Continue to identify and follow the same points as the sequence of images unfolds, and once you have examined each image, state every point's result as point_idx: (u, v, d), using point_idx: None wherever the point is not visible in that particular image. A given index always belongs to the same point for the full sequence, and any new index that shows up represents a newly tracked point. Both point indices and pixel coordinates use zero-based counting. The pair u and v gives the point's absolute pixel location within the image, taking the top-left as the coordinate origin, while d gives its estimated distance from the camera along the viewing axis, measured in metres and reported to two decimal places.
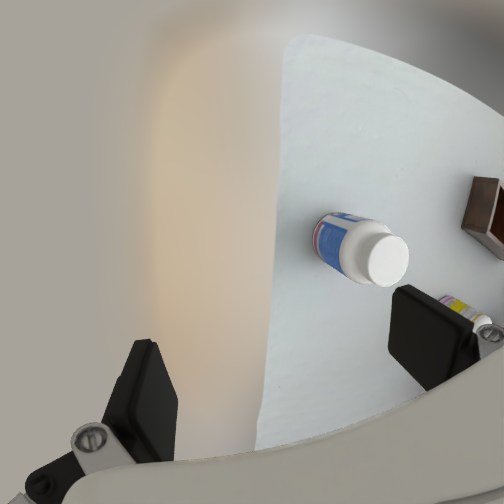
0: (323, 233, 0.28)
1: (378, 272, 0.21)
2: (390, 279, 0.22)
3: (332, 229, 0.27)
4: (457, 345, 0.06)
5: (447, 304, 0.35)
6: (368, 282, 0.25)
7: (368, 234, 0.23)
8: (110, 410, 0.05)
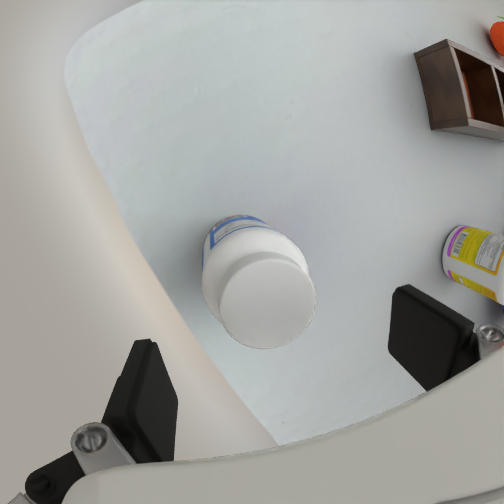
0: None
1: (256, 333, 0.13)
2: (290, 329, 0.13)
3: None
4: (457, 345, 0.06)
5: (458, 242, 0.24)
6: None
7: (226, 268, 0.14)
8: (110, 410, 0.05)
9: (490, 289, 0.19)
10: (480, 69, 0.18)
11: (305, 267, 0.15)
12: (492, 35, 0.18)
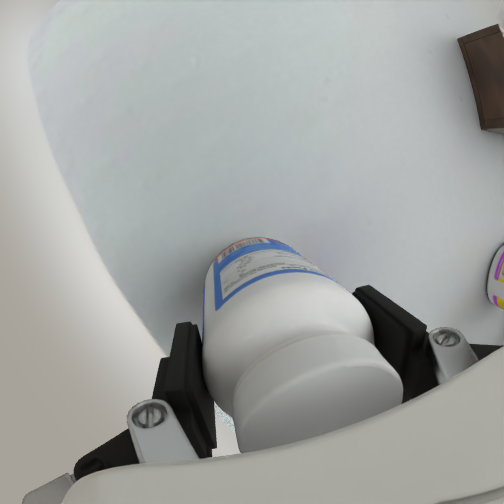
0: None
1: None
2: None
3: None
4: (408, 347, 0.07)
5: None
6: None
7: (246, 355, 0.07)
8: (167, 385, 0.06)
9: None
10: None
11: (372, 337, 0.08)
12: None
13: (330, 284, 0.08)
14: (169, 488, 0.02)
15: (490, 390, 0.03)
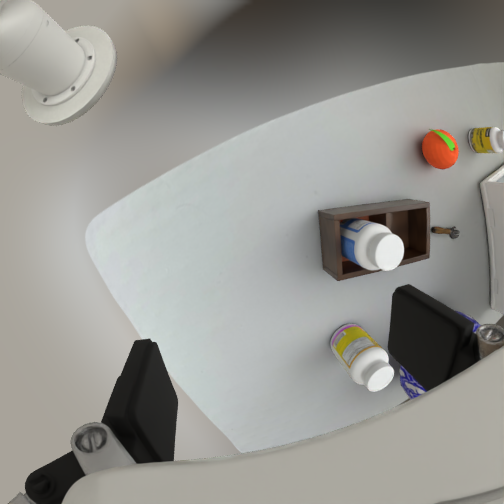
0: None
1: (385, 263, 0.31)
2: (395, 262, 0.31)
3: (344, 240, 0.36)
4: (457, 345, 0.06)
5: (337, 339, 0.44)
6: None
7: (369, 239, 0.32)
8: (110, 411, 0.05)
9: (349, 374, 0.39)
10: None
11: None
12: (422, 147, 0.38)
13: (383, 225, 0.33)
14: (169, 488, 0.02)
15: (490, 390, 0.03)
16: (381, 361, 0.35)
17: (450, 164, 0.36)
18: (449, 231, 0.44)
